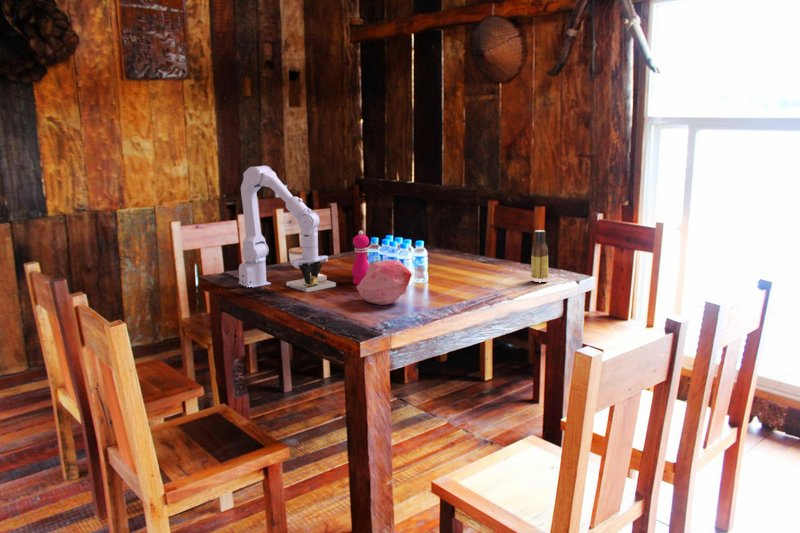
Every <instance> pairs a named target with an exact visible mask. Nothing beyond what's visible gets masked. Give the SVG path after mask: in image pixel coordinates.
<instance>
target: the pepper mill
mask: <svg viewBox="0 0 800 533" xmlns="http://www.w3.org/2000/svg"><path fill="white" fill-rule="evenodd" d="M352 244H353V246H354V252H355V259H354V263H353V265H352V268H351V275H352V276H353V278H352V283H353V284H354V285H359V284H360V282H361V281H362V279H363V277H365V276H366V271H367V270H368V269H369V267H370V264H369V261H368V258H367V253H368V252H369V251H368V249H369V246H368V245H369V244H370V239H369V237H368V236H367V235H365V234H364V231H363V230H359V231H358V234H357V235H355V236H354V237H353V239H352Z"/></svg>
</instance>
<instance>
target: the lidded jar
mask: <svg viewBox="0 0 800 533" xmlns="http://www.w3.org/2000/svg"><path fill="white" fill-rule="evenodd" d="M288 257H289V261H290V264H291V265H292V260H297V259H300V258H302V244H301V245H300V246H299V247H291V248H289V249H288ZM308 265H309V264H308ZM293 267H294V269H297V270H300V268H299V266H296V267H295V266H293Z"/></svg>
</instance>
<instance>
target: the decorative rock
mask: <svg viewBox="0 0 800 533" xmlns="http://www.w3.org/2000/svg"><path fill="white" fill-rule="evenodd" d="M369 266H370V267H369V269H368V270H367V271H366V276H365V277H363V279H362V281H361V282H360V284H357V285H356V290H357V292H358V293H359V295H360V296H361V297H362V299H363V300H365V301H366V302H368V303H371V304H376V305H378V306H379V305H383V306H385V305H391V304H394V303H395V302H397V301H398V300H399V298H401V296H402V295H404V294H405V293H406V292H407V287H408V286H409V284H410V282H411V278H412V272H411V271H410V269H408V268H407V267H406V266H405V264H403V262H401V261H400V260H396V259H387V260H379V261H374V262H371V264H369Z"/></svg>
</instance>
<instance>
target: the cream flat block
mask: <svg viewBox="0 0 800 533" xmlns="http://www.w3.org/2000/svg"><path fill="white" fill-rule="evenodd" d="M310 275H311V274H310ZM327 278H328V276H327V275H325V274H322V273H319V274H318V277H317V282H318V281H323V280H327Z"/></svg>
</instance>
